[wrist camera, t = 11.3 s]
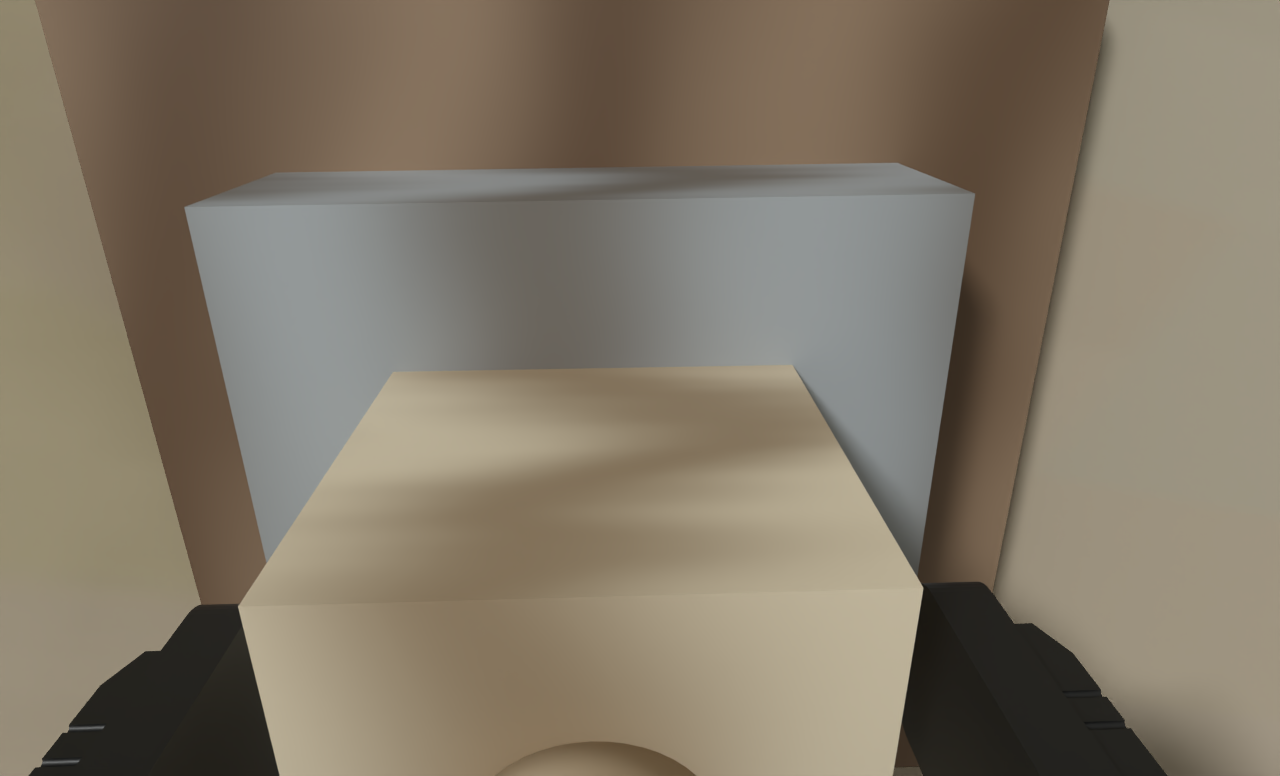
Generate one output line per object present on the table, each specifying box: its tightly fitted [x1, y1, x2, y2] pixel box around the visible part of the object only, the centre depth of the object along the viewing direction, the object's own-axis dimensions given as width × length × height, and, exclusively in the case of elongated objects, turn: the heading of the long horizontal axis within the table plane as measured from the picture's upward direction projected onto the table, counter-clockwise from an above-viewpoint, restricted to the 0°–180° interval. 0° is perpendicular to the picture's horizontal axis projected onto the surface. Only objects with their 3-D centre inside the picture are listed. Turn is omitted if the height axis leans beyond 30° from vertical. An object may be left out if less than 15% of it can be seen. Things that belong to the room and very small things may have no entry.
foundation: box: [35, 0, 1109, 767], centre depth 14 cm, size 16×17×5 cm
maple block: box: [238, 365, 923, 776], centre depth 9 cm, size 6×6×6 cm
